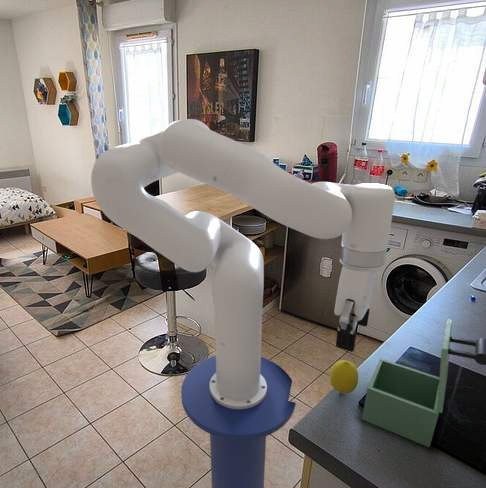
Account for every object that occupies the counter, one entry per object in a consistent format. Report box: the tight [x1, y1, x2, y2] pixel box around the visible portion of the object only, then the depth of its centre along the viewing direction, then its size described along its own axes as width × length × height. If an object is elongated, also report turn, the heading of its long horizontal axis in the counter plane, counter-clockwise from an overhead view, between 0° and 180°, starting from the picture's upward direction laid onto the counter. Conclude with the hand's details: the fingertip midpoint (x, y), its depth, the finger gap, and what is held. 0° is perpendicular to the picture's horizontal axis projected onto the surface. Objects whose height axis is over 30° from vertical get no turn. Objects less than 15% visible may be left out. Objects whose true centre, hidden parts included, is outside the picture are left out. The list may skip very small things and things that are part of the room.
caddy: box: [361, 357, 440, 448], centre depth 69 cm, size 11×10×8 cm
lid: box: [437, 318, 486, 414], centre depth 61 cm, size 12×10×6 cm
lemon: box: [329, 359, 359, 395], centre depth 75 cm, size 6×6×8 cm
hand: (352, 335), depth 71 cm, fingers open, 9 cm apart
